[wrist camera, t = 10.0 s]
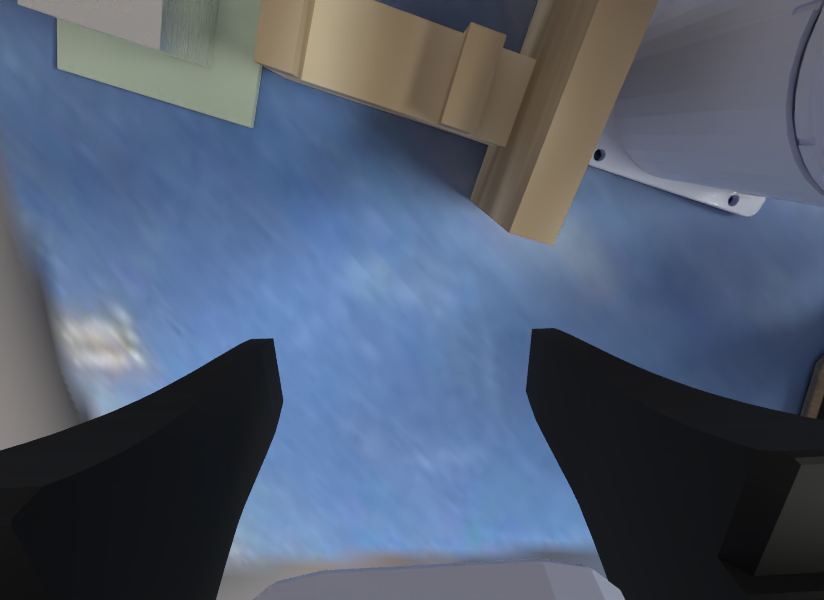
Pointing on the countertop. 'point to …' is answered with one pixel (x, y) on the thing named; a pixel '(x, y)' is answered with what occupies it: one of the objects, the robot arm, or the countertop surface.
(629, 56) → the rail stand
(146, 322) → the countertop surface
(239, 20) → the mat
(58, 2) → the rail
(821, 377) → the lantern
